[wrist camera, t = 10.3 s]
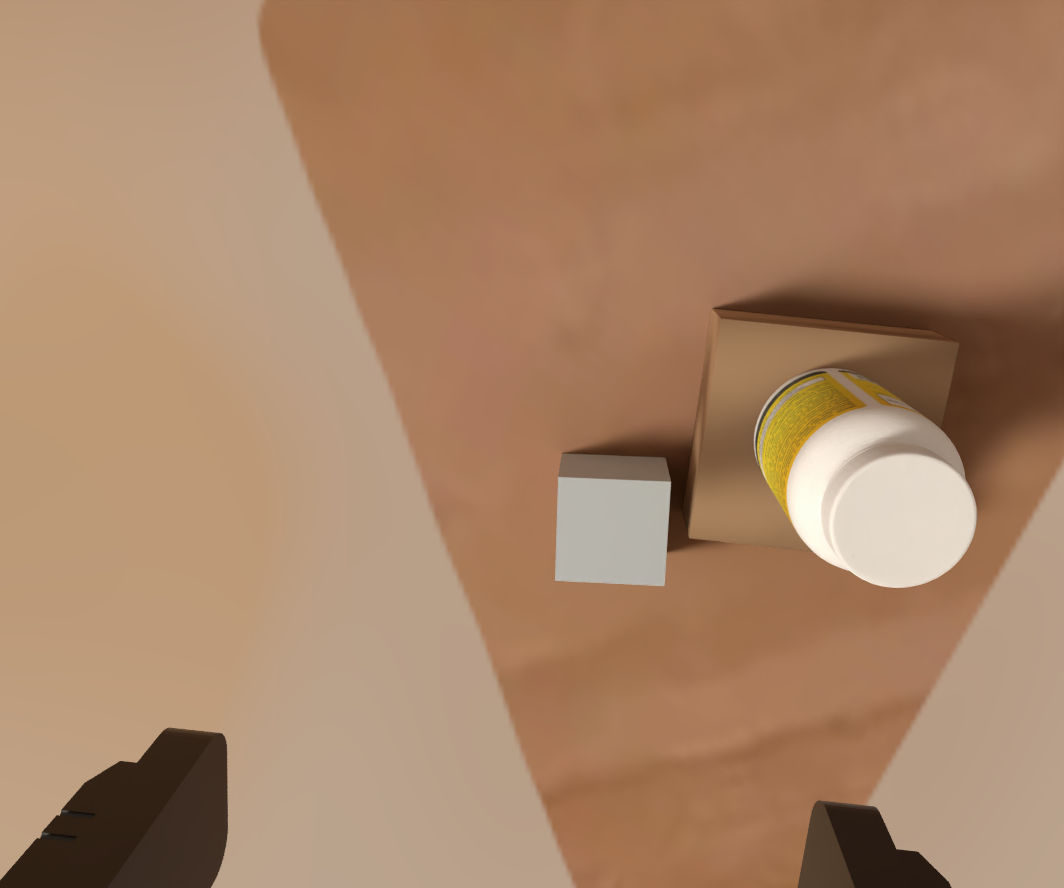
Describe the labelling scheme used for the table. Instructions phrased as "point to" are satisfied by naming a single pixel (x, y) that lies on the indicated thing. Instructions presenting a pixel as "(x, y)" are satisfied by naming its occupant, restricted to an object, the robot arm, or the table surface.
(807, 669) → the table surface
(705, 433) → the walnut block
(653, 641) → the table surface
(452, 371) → the table surface
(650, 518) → the slate block
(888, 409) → the pill bottle
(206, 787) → the robot arm
